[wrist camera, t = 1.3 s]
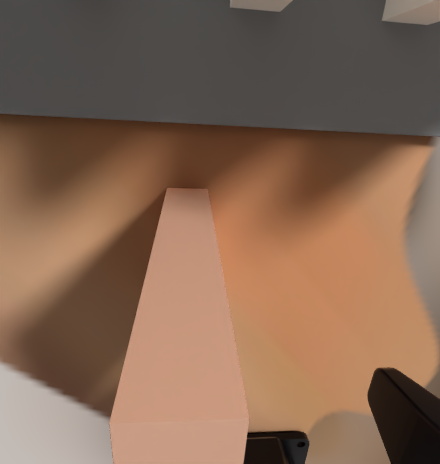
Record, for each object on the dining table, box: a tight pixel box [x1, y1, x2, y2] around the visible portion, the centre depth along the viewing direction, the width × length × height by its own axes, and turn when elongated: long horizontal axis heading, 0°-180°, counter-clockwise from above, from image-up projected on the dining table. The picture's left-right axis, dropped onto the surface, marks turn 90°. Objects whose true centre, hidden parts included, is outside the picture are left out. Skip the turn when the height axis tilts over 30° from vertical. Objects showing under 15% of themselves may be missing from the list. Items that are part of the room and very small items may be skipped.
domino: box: [109, 188, 249, 464], centre depth 9 cm, size 5×2×10 cm, turn 177°
